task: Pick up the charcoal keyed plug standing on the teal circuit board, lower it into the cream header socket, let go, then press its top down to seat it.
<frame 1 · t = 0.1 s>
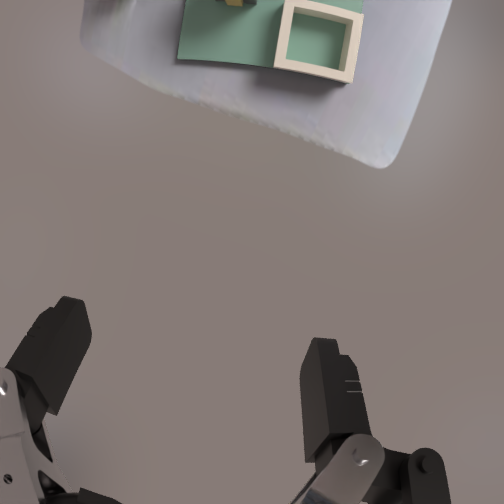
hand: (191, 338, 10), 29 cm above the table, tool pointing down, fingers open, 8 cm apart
board: (271, 18, 27), on the table
header: (315, 41, 28), resting on board
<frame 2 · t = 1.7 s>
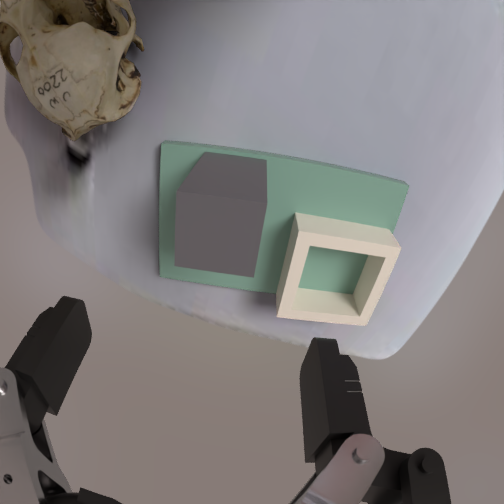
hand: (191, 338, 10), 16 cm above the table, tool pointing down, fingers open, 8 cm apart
skull: (99, 30, 17), on the table
board: (277, 227, 26), on the table
header: (331, 263, 26), resting on board
plug: (232, 183, 23), point 1 cm above the table, touching board
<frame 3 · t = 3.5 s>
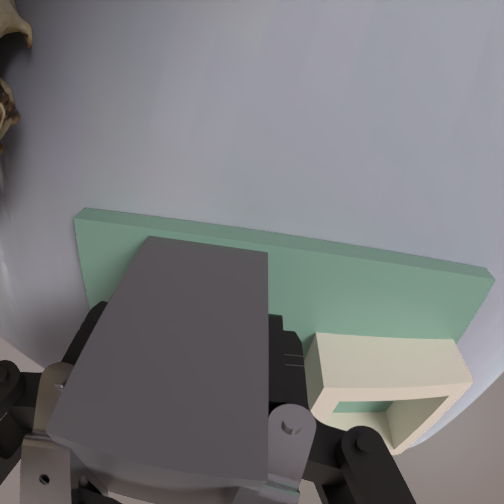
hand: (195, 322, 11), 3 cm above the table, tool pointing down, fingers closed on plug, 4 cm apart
board: (283, 343, 15), on the table
header: (363, 386, 16), resting on board
plug: (203, 291, 12), point 1 cm above the table, touching gripper
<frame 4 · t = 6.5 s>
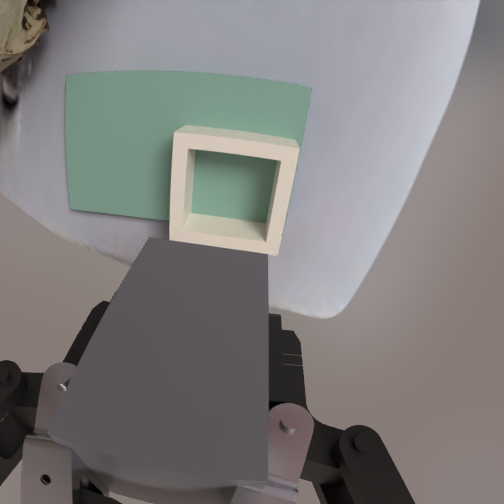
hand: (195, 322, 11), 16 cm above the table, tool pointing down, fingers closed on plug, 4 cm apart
board: (173, 146, 23), on the table
header: (232, 182, 23), resting on board
plug: (203, 292, 13), point 14 cm above the table, touching gripper
when the fingers open (5 cm above the table, at t = 9.0 s): plug drops 2 cm, resting on board.
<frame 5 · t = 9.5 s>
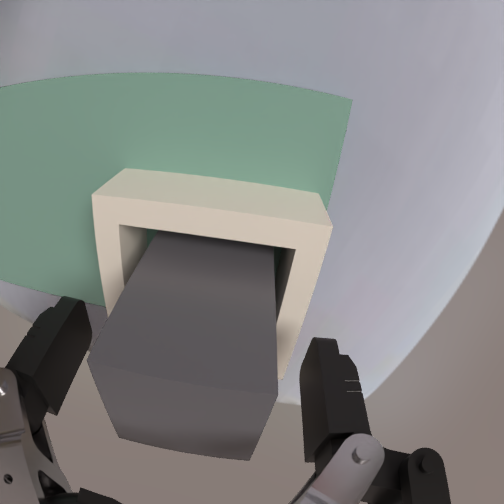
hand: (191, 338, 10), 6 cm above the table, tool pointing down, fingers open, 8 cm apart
board: (115, 200, 14), on the table
header: (210, 262, 14), resting on board
plug: (215, 263, 14), point 1 cm above the table, touching board
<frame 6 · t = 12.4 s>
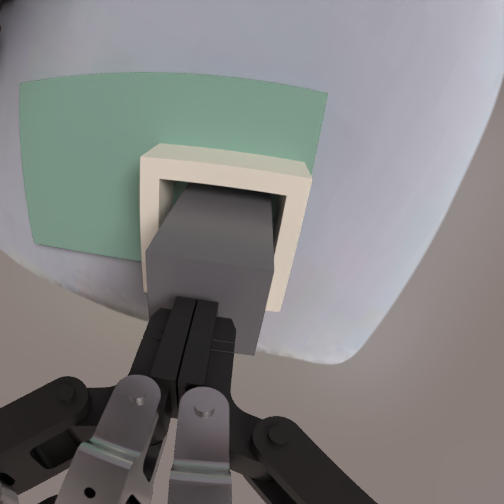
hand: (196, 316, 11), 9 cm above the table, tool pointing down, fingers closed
board: (147, 170, 18), on the table
header: (222, 217, 18), resting on board
plug: (226, 218, 18), point 1 cm above the table, touching board
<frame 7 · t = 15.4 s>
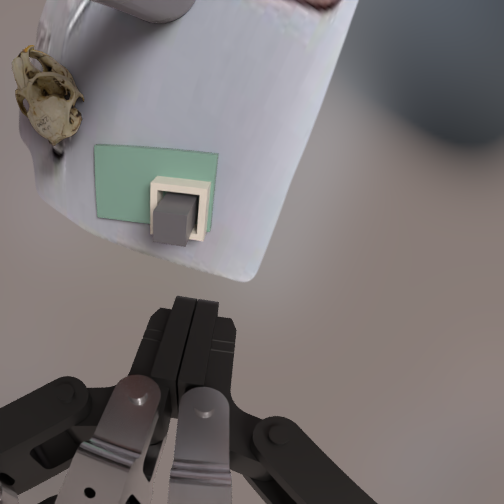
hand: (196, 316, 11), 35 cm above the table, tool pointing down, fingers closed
skull: (65, 88, 37), on the table
board: (152, 185, 45), on the table
header: (182, 204, 46), resting on board
plug: (183, 204, 46), point 1 cm above the table, touching board
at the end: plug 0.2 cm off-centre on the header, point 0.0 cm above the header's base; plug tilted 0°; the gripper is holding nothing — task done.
